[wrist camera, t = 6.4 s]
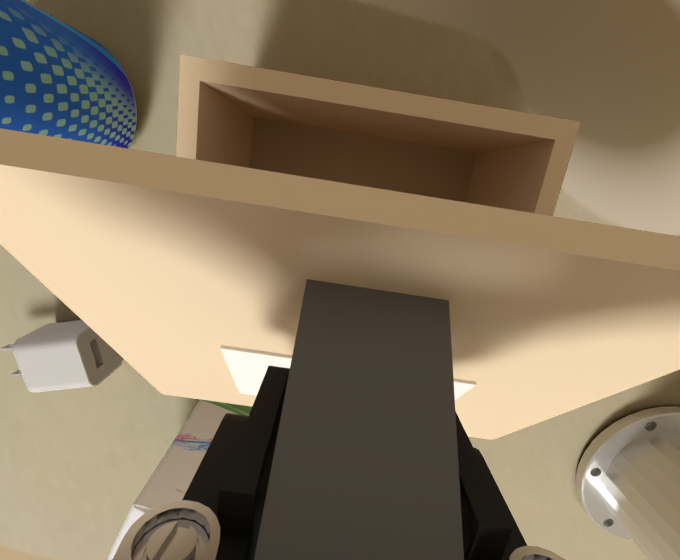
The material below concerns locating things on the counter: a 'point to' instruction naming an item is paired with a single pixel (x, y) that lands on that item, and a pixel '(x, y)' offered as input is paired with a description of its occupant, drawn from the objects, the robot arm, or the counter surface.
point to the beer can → (60, 81)
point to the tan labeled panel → (343, 321)
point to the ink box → (180, 461)
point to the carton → (371, 136)
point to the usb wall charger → (63, 357)
